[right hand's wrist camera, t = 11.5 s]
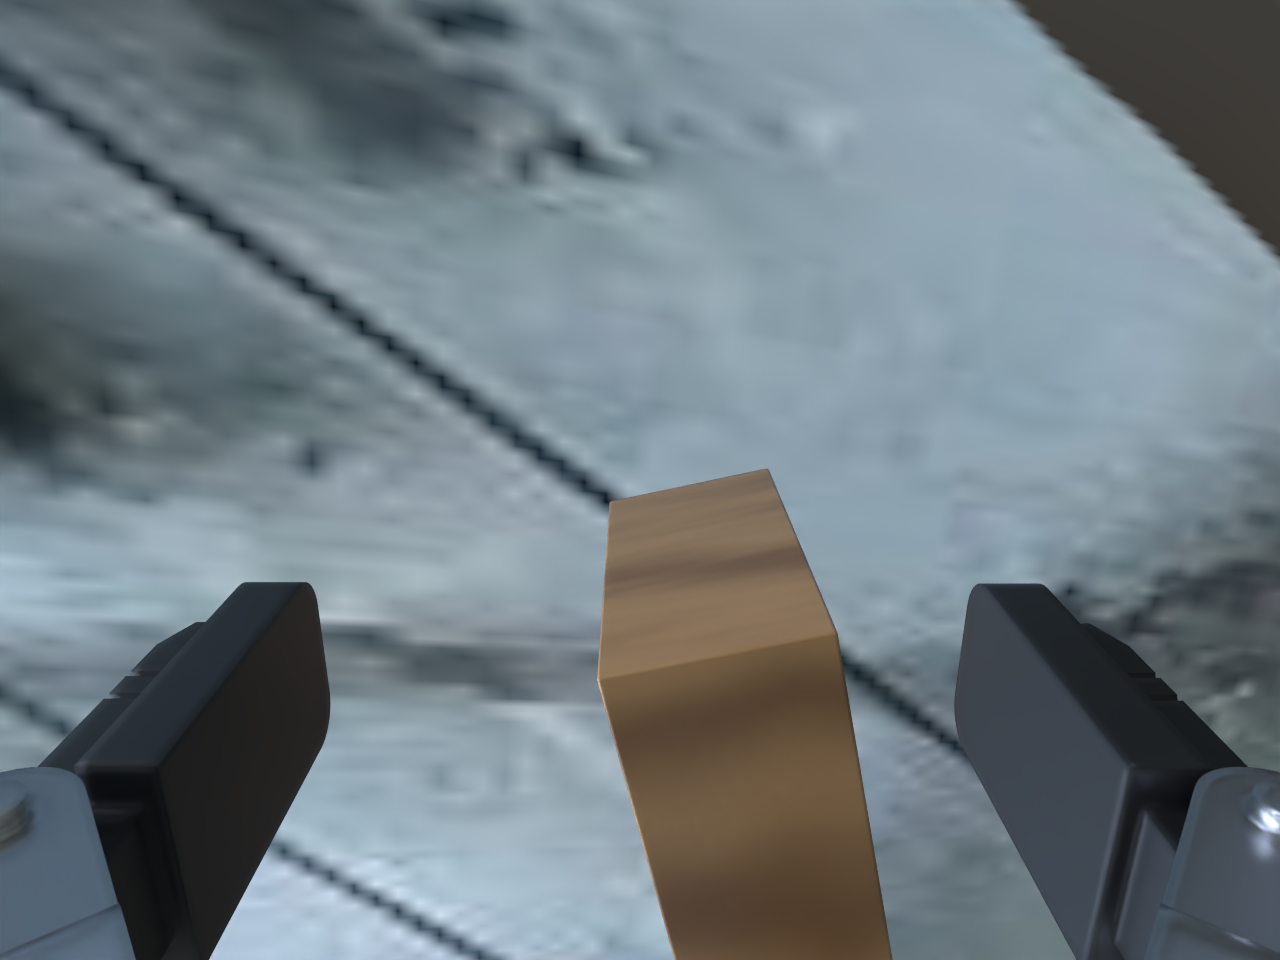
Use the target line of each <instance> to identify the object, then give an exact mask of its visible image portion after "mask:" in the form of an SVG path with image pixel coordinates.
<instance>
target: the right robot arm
mask: <svg viewBox="0 0 1280 960" xmlns="http://www.w3.org/2000/svg"><path fill="white" fill-rule="evenodd" d="M329 717H330V691H329V684H328V676H327V669H326V662H325V654H324V647H323V640H322V632H321V625H320V618H319V610H318V604H317V598H316V595H315V592H314V590H313V588H312V586H311V585H310V584H309V583H307V582H245V583H242V584H241V585H240V586H239V587H238V588H237V589H236V590H235V591H234V592H233V593H232V594H231V595H230V596H229V597H228V598H227V600H226V601H225V602H224V603H223V604H222V605H221V606H220V607H219V608H218V609H217V610H216V611H215V613H214V614H213V615H212V616H211V617H210V618H209V619H208V620H207V621H206V622H196V623H194V624H192V625H190V626H189V627H187V628H185V629H183V630H182V631H180V632H178V633H176V634H175V635H173V636H171V637H169V638H168V639H166V640H164V641H162V642H161V643H159V644H157V645H156V646H155V647H154V648H153V649H152V650H151V651H150V652H149V653H148V654H147V655H146V656H145V657H144V658H143V659H142V660H141V661H140V662H139V663H138V664H137V665H136V666H135V668H134V669H133V670H132V671H131V676H126V677H125V678H124V679H123V680H122V681H121V682H120V683H119V684H118V685H117V686H116V687H115V688H114V689H113V690H112V691H111V692H110V697H109V699H103V700H102V701H101V702H100V703H99V704H98V705H97V706H96V708H95V709H94V710H93V711H92V712H91V713H90V714H89V715H88V716H87V717H86V718H85V719H84V720H83V721H82V722H81V723H80V724H79V725H78V726H77V727H76V728H75V729H74V730H73V731H72V732H71V733H70V734H69V735H68V736H67V737H66V738H65V739H64V740H63V741H62V742H61V743H60V744H59V745H58V747H57V748H56V749H55V750H54V751H53V752H52V753H51V754H50V755H49V756H48V757H47V758H46V759H45V760H44V761H43V762H42V763H41V764H40V765H39V766H38V767H30V768H21V769H15V770H10V771H5V772H1V773H0V960H209V958H210V956H211V955H212V953H213V951H214V949H215V947H216V945H217V943H218V941H219V940H220V938H221V936H222V934H223V932H224V930H225V928H226V926H227V924H228V923H229V921H230V919H231V917H232V915H233V913H234V911H235V909H236V908H237V906H238V904H239V902H240V900H241V898H242V896H243V894H244V893H245V891H246V889H247V887H248V885H249V883H250V881H251V879H252V877H253V876H254V874H255V872H256V870H257V868H258V866H259V864H260V862H261V861H262V859H263V857H264V855H265V853H266V851H267V849H268V847H269V846H270V844H271V842H272V840H273V838H274V836H275V834H276V832H277V830H278V829H279V827H280V825H281V823H282V821H283V819H284V817H285V815H286V814H287V812H288V810H289V808H290V806H291V804H292V802H293V800H294V798H295V797H296V795H297V793H298V791H299V789H300V787H301V785H302V783H303V782H304V780H305V778H306V776H307V774H308V772H309V770H310V768H311V767H312V765H313V763H314V761H315V759H316V757H317V755H318V753H319V751H320V750H321V748H322V745H323V743H324V740H325V737H326V734H327V729H328V724H329ZM955 721H956V727H957V732H958V736H959V740H960V743H961V745H962V748H963V750H964V752H965V753H966V755H967V757H968V759H969V761H970V763H971V765H972V766H973V768H974V770H975V772H976V774H977V776H978V778H979V779H980V781H981V783H982V785H983V787H984V789H985V791H986V792H987V794H988V796H989V798H990V800H991V802H992V804H993V805H994V807H995V809H996V811H997V813H998V815H999V817H1000V818H1001V820H1002V822H1003V824H1004V826H1005V828H1006V830H1007V831H1008V833H1009V835H1010V837H1011V839H1012V841H1013V843H1014V844H1015V846H1016V848H1017V850H1018V852H1019V854H1020V856H1021V857H1022V859H1023V861H1024V863H1025V865H1026V867H1027V869H1028V870H1029V872H1030V874H1031V876H1032V878H1033V880H1034V882H1035V883H1036V885H1037V887H1038V889H1039V891H1040V893H1041V895H1042V896H1043V898H1044V900H1045V902H1046V904H1047V906H1048V908H1049V909H1050V911H1051V913H1052V915H1053V917H1054V919H1055V921H1056V922H1057V924H1058V926H1059V928H1060V930H1061V932H1062V934H1063V935H1064V937H1065V939H1066V941H1067V943H1068V945H1069V947H1070V948H1071V950H1072V952H1073V954H1074V956H1075V958H1076V960H1280V773H1279V772H1275V771H1270V770H1265V769H1259V768H1250V767H1247V766H1246V765H1245V764H1244V762H1243V761H1242V760H1241V759H1240V758H1239V757H1238V756H1237V755H1236V754H1235V753H1234V752H1233V751H1232V750H1231V749H1230V748H1229V747H1228V746H1227V745H1226V744H1225V743H1224V742H1223V741H1222V740H1221V739H1220V738H1219V737H1218V736H1217V735H1216V734H1215V733H1214V732H1213V731H1212V730H1211V729H1210V728H1209V727H1208V726H1207V725H1206V724H1205V723H1204V722H1203V721H1202V720H1201V719H1200V718H1199V717H1198V716H1197V715H1196V714H1195V713H1194V712H1193V711H1192V710H1191V709H1190V708H1189V707H1188V706H1187V705H1186V704H1185V703H1184V701H1178V700H1177V694H1176V693H1175V692H1174V691H1173V690H1172V689H1171V688H1170V687H1169V686H1168V685H1167V684H1166V683H1165V682H1164V681H1163V680H1162V679H1161V678H1156V677H1155V672H1154V671H1153V670H1152V669H1151V668H1150V667H1149V666H1148V665H1147V664H1146V663H1145V662H1144V661H1143V660H1142V659H1141V658H1140V657H1139V656H1138V655H1137V654H1136V653H1135V652H1134V651H1133V650H1132V649H1131V648H1130V647H1129V646H1128V645H1126V644H1124V643H1123V642H1121V641H1119V640H1117V639H1115V638H1114V637H1112V636H1110V635H1108V634H1107V633H1105V632H1103V631H1101V630H1100V629H1098V628H1096V627H1094V626H1093V625H1091V624H1080V623H1079V622H1078V621H1077V620H1076V619H1075V617H1074V616H1073V615H1072V614H1071V613H1070V612H1069V611H1068V610H1067V609H1066V608H1065V607H1064V606H1063V605H1062V603H1061V602H1060V601H1059V600H1058V599H1057V598H1056V597H1055V596H1054V595H1053V594H1052V593H1051V592H1050V591H1049V589H1048V588H1047V587H1045V586H1044V585H1042V584H977V585H976V586H975V587H974V588H973V589H972V591H971V593H970V596H969V600H968V605H967V612H966V619H965V626H964V633H963V640H962V648H961V655H960V662H959V669H958V676H957V684H956V691H955Z"/></svg>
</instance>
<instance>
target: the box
mask: <svg viewBox="0 0 1280 960" xmlns="http://www.w3.org/2000/svg"><path fill="white" fill-rule="evenodd" d="M597 681H598V685H599V688H600V692H601V696H602V699H603V703H604V706H605V710H606V714H607V717H608V721H609V724H610V728H611V732H612V735H613V739H614V742H615V746H616V750H617V753H618V757H619V761H620V764H621V768H622V771H623V775H624V779H625V782H626V786H627V789H628V793H629V797H630V800H631V804H632V808H633V811H634V815H635V818H636V822H637V826H638V829H639V833H640V836H641V840H642V844H643V847H644V851H645V855H646V858H647V862H648V865H649V869H650V873H651V876H652V880H653V883H654V887H655V891H656V894H657V898H658V901H659V905H660V909H661V912H662V916H663V920H664V923H665V927H666V930H667V934H668V938H669V941H670V945H671V948H672V952H673V956H674V959H675V960H892V954H891V948H890V942H889V936H888V930H887V924H886V918H885V912H884V906H883V900H882V894H881V889H880V883H879V877H878V871H877V865H876V859H875V853H874V847H873V841H872V835H871V829H870V823H869V817H868V812H867V806H866V800H865V794H864V788H863V782H862V776H861V770H860V764H859V758H858V752H857V746H856V740H855V734H854V729H853V723H852V717H851V711H850V705H849V699H848V693H847V687H846V681H845V675H844V669H843V663H842V657H841V652H840V646H839V640H838V634H837V631H836V628H835V626H834V624H833V621H832V619H831V617H830V614H829V612H828V609H827V607H826V605H825V602H824V600H823V598H822V595H821V593H820V590H819V588H818V586H817V583H816V581H815V579H814V576H813V574H812V571H811V569H810V567H809V564H808V562H807V560H806V557H805V555H804V552H803V550H802V548H801V545H800V543H799V541H798V538H797V536H796V533H795V531H794V529H793V526H792V524H791V522H790V519H789V517H788V514H787V512H786V510H785V507H784V505H783V502H782V500H781V498H780V495H779V493H778V491H777V488H776V486H775V483H774V481H773V479H772V476H771V474H770V472H769V470H768V469H762V470H758V471H753V472H748V473H743V474H739V475H734V476H729V477H724V478H720V479H715V480H710V481H705V482H701V483H696V484H691V485H686V486H682V487H677V488H672V489H667V490H663V491H658V492H653V493H648V494H644V495H639V496H634V497H629V498H625V499H620V500H615V501H611V502H610V507H609V521H608V535H607V549H606V563H605V577H604V591H603V605H602V619H601V633H600V647H599V661H598V676H597Z"/></svg>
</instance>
